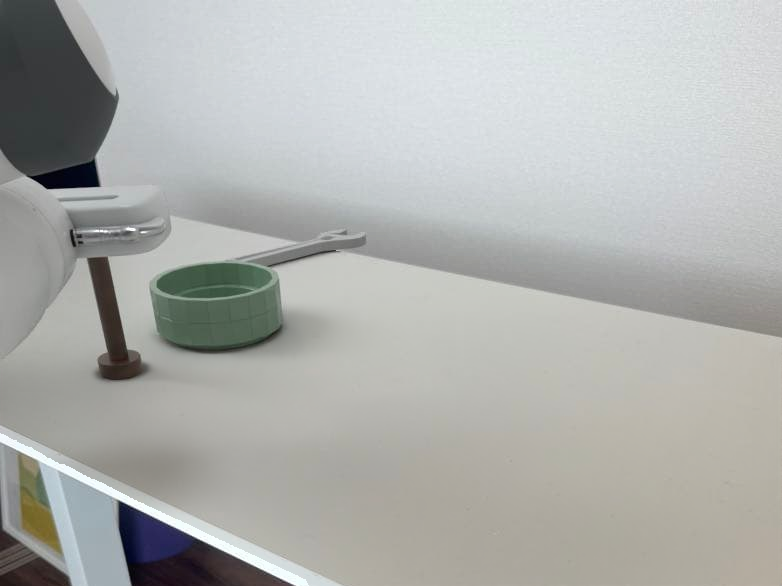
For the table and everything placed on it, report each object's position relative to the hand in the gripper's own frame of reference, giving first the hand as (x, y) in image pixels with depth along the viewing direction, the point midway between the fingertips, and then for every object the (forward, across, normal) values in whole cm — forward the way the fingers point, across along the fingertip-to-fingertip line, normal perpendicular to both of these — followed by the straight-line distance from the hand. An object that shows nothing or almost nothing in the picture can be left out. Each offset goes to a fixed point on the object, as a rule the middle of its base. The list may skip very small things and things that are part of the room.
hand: (49, 201), depth 66 cm
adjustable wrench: (+53, -19, +19) cm, 60 cm away
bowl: (+23, -10, +20) cm, 32 cm away
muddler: (+12, 0, +20) cm, 23 cm away
